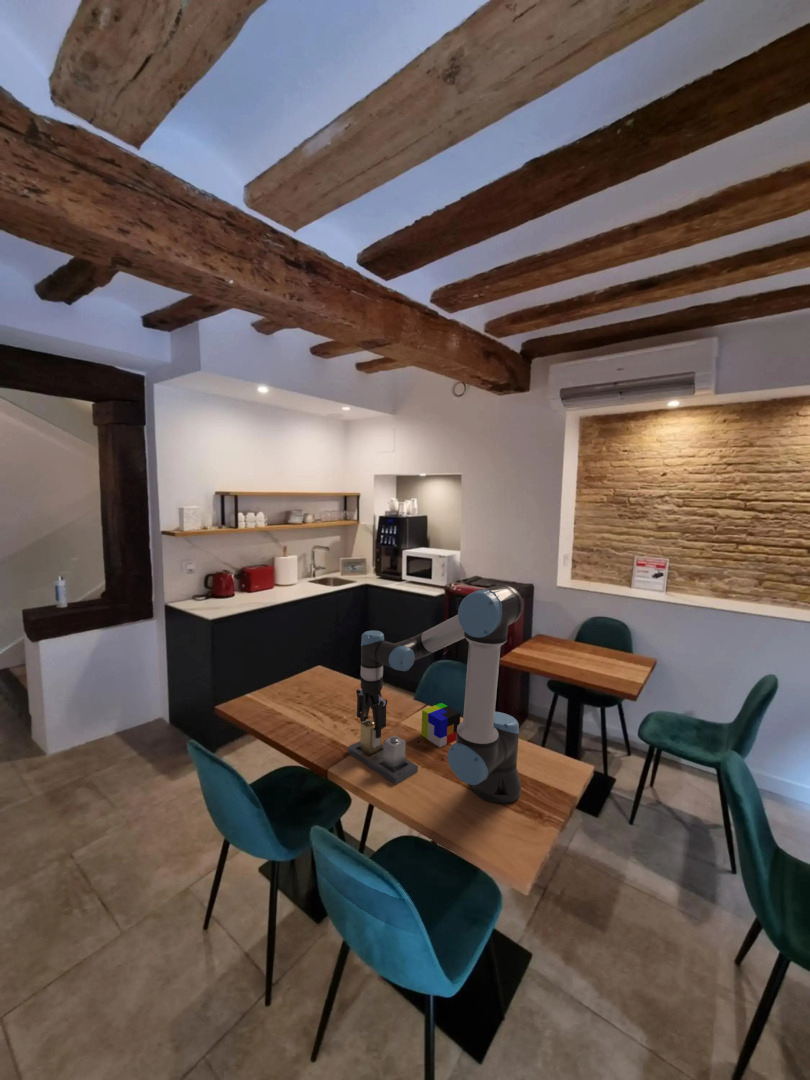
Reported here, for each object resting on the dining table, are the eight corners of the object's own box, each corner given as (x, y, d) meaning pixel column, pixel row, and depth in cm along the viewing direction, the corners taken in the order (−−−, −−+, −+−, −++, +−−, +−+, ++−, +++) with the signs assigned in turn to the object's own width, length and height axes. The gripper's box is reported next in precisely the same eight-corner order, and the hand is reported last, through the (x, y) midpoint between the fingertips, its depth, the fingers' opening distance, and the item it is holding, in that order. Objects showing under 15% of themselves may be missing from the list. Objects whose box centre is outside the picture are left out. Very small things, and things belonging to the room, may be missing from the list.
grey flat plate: (417, 771, 147) (417, 765, 147) (395, 785, 140) (395, 778, 140) (369, 741, 164) (369, 736, 164) (347, 752, 157) (347, 746, 157)
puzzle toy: (439, 747, 162) (440, 720, 161) (421, 735, 170) (422, 710, 169) (459, 738, 169) (460, 712, 168) (440, 727, 176) (441, 702, 175)
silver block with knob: (404, 770, 148) (405, 739, 147) (393, 776, 144) (394, 745, 143) (394, 763, 151) (394, 733, 150) (382, 769, 148) (383, 739, 147)
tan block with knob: (380, 751, 156) (381, 722, 155) (369, 757, 152) (370, 727, 151) (371, 745, 159) (371, 717, 159) (360, 751, 156) (360, 722, 155)
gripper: (398, 681, 150) (396, 748, 152) (363, 666, 162) (362, 728, 165) (381, 688, 145) (380, 757, 147) (346, 672, 157) (345, 736, 159)
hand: (370, 742), depth 156 cm, fingers closed on tan block with knob, 5 cm apart
